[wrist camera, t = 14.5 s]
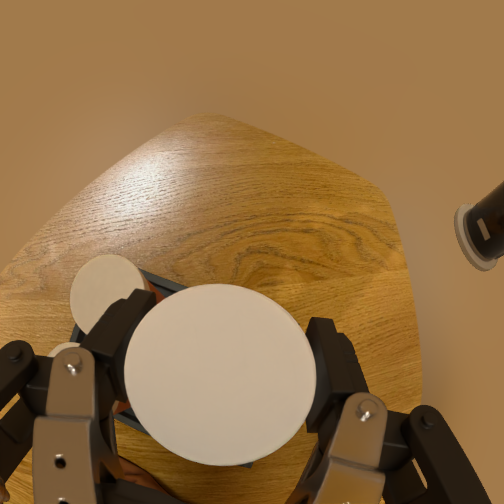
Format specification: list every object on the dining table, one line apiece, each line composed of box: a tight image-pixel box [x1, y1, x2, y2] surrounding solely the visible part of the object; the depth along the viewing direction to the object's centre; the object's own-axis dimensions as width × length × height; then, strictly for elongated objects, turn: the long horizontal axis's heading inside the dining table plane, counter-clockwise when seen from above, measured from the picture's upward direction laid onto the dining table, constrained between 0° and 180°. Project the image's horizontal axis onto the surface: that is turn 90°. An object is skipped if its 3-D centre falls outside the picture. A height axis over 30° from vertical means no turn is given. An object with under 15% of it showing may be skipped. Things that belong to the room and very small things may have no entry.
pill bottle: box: [124, 284, 316, 466], centre depth 10 cm, size 6×6×10 cm
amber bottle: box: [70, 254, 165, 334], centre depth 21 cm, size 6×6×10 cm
